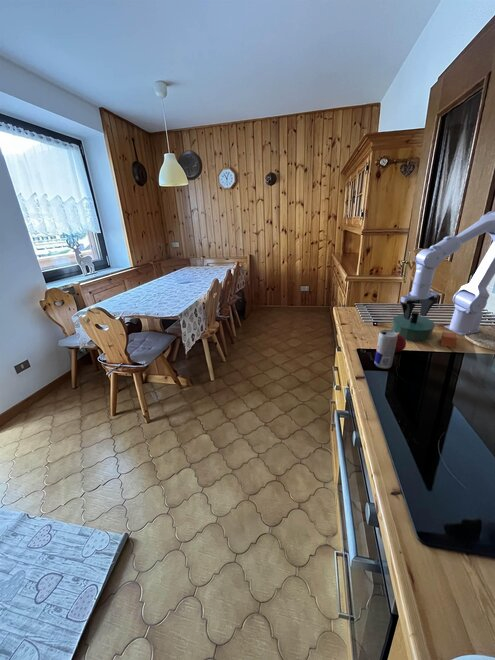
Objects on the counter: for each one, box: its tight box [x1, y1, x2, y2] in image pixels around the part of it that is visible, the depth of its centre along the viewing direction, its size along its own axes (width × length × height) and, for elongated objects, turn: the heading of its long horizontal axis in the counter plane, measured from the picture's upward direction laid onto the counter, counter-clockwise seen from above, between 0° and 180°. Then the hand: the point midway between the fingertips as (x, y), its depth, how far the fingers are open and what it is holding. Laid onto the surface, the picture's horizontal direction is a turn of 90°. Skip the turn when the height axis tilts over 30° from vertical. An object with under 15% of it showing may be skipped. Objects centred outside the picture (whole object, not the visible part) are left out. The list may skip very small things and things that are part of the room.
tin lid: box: [392, 310, 436, 332], centre depth 109 cm, size 14×14×5 cm
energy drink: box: [373, 329, 398, 370], centre depth 93 cm, size 5×5×12 cm
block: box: [440, 331, 458, 348], centre depth 103 cm, size 4×4×4 cm
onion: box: [394, 332, 407, 353], centre depth 100 cm, size 6×6×8 cm
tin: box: [391, 323, 434, 342], centre depth 112 cm, size 13×13×5 cm
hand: (414, 317), depth 109 cm, fingers open, 7 cm apart
